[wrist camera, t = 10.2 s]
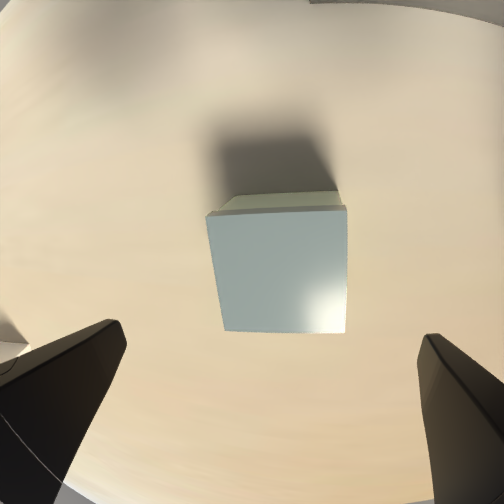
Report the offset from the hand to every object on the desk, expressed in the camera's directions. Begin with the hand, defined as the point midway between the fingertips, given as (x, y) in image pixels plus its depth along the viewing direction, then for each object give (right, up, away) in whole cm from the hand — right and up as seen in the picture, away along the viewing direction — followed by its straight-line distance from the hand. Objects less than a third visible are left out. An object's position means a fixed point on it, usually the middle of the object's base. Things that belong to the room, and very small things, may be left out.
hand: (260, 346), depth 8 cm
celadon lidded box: (+2, +3, +11) cm, 11 cm away
